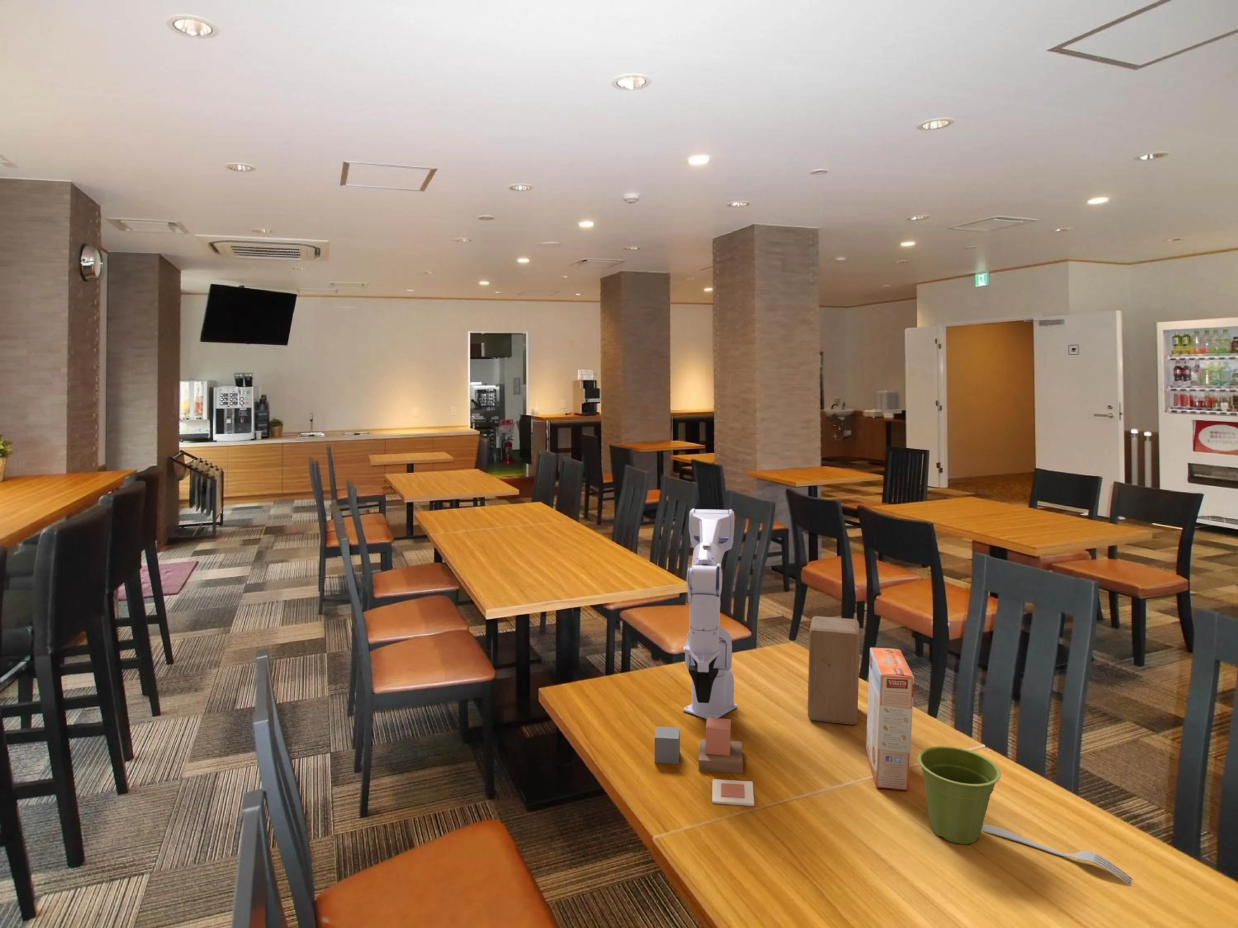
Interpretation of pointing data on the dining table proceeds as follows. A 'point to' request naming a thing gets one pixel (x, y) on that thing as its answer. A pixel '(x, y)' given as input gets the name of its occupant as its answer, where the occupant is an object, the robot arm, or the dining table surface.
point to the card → (732, 792)
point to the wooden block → (833, 670)
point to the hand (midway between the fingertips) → (703, 693)
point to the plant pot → (957, 791)
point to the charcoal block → (667, 745)
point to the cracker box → (889, 718)
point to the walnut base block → (721, 759)
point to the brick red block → (718, 736)
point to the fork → (1079, 855)
